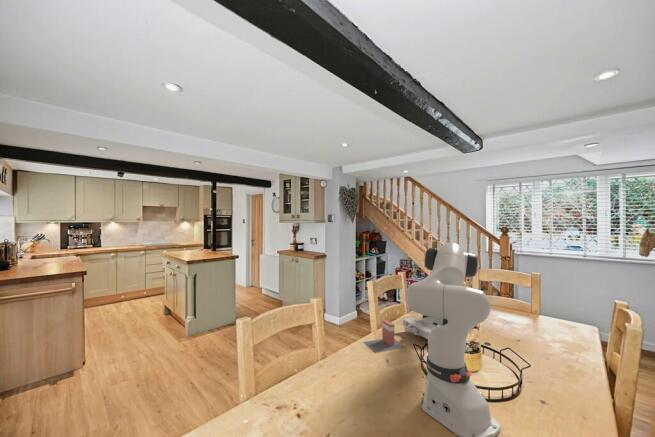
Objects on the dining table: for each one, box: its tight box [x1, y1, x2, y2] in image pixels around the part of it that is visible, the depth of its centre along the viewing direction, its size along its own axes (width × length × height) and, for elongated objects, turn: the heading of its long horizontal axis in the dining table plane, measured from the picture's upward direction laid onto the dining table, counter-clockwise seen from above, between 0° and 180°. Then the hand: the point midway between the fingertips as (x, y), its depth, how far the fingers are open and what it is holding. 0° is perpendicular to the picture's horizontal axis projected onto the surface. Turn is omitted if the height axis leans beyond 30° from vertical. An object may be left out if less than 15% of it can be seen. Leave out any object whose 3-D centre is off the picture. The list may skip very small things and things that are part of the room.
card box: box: [381, 319, 395, 346], centre depth 132 cm, size 7×2×10 cm, turn 20°
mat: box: [363, 338, 406, 354], centre depth 129 cm, size 12×17×1 cm
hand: (406, 329), depth 135 cm, fingers closed
